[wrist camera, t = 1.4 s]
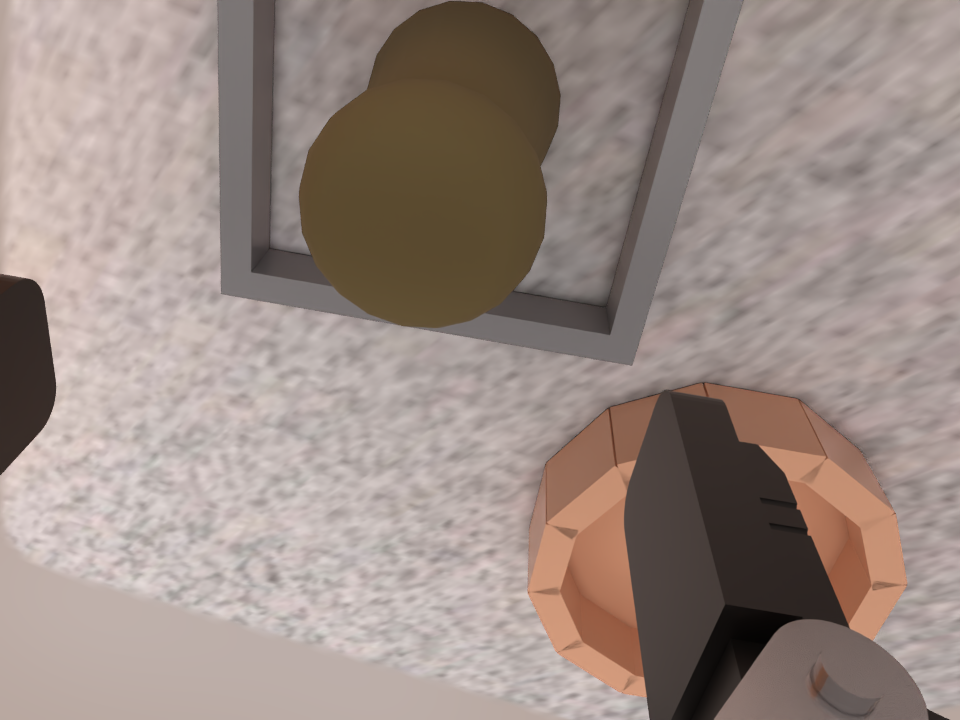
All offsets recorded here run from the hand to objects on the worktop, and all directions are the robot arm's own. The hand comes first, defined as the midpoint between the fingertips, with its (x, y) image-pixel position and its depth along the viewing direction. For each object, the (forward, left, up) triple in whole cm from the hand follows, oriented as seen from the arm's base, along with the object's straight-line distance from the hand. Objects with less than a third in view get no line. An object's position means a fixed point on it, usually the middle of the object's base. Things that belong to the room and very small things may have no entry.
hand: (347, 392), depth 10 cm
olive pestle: (0, 0, -17) cm, 17 cm away
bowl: (-12, +15, -17) cm, 26 cm away
